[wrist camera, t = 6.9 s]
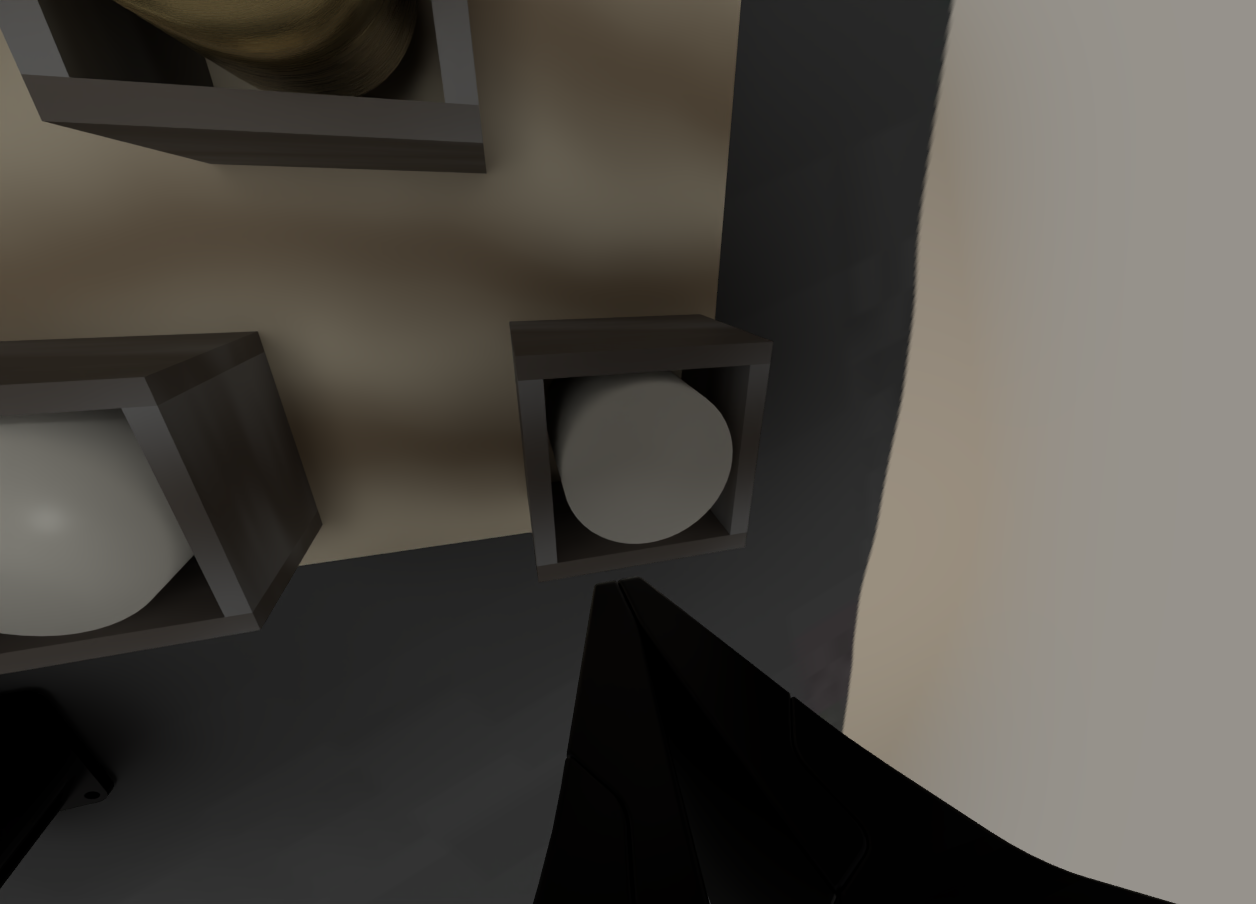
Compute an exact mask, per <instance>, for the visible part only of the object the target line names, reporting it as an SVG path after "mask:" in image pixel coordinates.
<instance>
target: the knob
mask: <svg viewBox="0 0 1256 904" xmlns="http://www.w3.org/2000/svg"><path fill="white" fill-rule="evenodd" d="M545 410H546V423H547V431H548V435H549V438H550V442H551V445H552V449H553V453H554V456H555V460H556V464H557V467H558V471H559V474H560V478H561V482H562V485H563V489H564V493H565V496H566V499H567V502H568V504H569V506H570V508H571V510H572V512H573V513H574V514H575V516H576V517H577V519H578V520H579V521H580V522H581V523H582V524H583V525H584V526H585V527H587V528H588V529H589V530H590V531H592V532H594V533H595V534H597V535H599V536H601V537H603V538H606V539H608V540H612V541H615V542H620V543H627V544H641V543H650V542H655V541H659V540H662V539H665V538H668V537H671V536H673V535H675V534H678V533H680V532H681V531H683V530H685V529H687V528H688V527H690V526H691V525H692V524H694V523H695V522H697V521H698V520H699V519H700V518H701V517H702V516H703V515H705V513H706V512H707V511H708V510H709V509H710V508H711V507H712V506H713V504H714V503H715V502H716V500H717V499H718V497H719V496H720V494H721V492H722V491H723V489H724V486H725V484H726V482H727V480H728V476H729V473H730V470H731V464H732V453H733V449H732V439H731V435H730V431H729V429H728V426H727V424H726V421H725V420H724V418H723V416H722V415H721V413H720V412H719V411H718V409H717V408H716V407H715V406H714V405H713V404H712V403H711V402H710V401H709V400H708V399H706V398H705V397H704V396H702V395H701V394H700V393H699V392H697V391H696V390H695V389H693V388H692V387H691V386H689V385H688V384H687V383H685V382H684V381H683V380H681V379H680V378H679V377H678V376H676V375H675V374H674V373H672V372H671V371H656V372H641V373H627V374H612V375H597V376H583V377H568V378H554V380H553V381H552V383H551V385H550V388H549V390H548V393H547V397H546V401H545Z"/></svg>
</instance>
